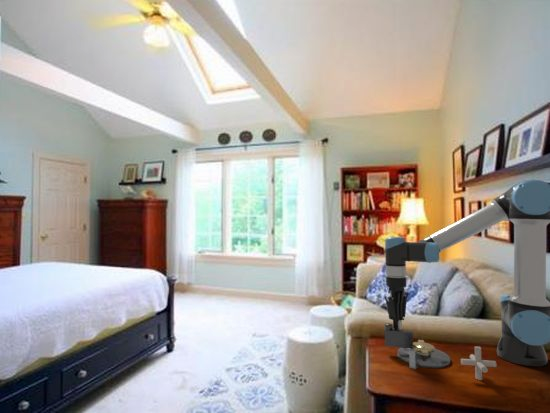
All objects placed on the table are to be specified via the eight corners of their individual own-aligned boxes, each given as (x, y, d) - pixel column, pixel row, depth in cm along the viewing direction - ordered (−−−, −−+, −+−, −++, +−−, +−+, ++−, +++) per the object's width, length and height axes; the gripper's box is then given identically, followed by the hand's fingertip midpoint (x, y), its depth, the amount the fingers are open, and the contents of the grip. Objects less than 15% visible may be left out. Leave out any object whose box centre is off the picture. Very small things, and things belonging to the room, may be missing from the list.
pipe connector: (503, 387, 102) (502, 354, 103) (467, 384, 104) (466, 352, 105) (489, 373, 112) (488, 342, 113) (456, 370, 114) (456, 340, 115)
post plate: (460, 360, 122) (459, 343, 123) (425, 374, 111) (425, 356, 112) (416, 345, 138) (416, 330, 138) (382, 356, 127) (382, 340, 127)
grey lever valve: (432, 343, 130) (431, 322, 131) (437, 356, 118) (436, 333, 118) (384, 339, 136) (384, 319, 136) (385, 351, 123) (384, 329, 124)
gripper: (397, 273, 138) (398, 330, 138) (377, 276, 131) (379, 338, 130) (413, 275, 132) (415, 335, 132) (394, 279, 125) (396, 343, 124)
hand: (397, 336), depth 131 cm, fingers closed
